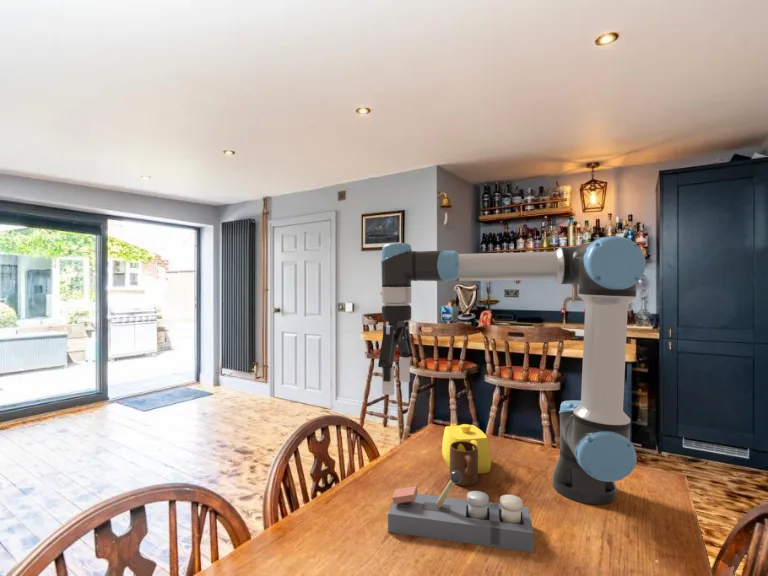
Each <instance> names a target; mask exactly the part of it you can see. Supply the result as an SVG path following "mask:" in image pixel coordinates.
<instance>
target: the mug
mask: <svg viewBox="0 0 768 576" xmlns="http://www.w3.org/2000/svg"><path fill="white" fill-rule="evenodd" d="M459 444H462V445H463V446H464V448H465V450H466V451H460V450H457V448H458V445H459ZM473 447H474V449H475V450H473ZM454 470H457V471H459V472H460V473H461V475H462V480H461V481H460V482H459V483H455V485H458V486H463V487H469V486H470V487H471V486H474V485H475V484H476V483H477V482H478V479H479V474H478V448H477V446H476V445H475V444H473V443H470V442H465V441H459V442H454V443H452V444H451V445H450V469H449V475H450V474H451V472H452V471H454Z"/></svg>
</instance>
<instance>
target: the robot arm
mask: <svg viewBox="0 0 768 576" xmlns="http://www.w3.org/2000/svg"><path fill="white" fill-rule="evenodd" d="M646 262H647V261H646V257H645V254H644V253H643V250H642V248H640V246H639V245H637V244H636V243H635V241H633V240H631V239H629V238H627V237H623V236H618V235H617V236H616V235H614V236H613V235H610V236H602V237H599V238H597V239H595V240H593V241H590V242H588V243H587V242H586V243H585V244H580V245H576V246H568V247H559V248H557V249H556V250H555V251H533V252H532V251H529V252H527V251H526V252H525V251H524V252H522V251H521V252H493V253H492V252H490V253H489V252H488V253H486V252H484V253H459V252H458V251H456V250H446V249H443V250H427V251H425V250H422V251H421V250H419V251H414V250H412V246H411V244H410V243H406V242H405V243H404V242H391V243H390V242H389V243H386V244H384V245H383V246H382V248H381V261H380V263H381V291H380V292H379V293H380V295H381V302H382V304H383V305H382V306H381V318H382V320H384V321H387V322H388V324H387V325H383V327H382V338H381V345H380V351H379V353H380V354H379V358H378V365H377V367H378V368H381V369H382V371H381V373H382V374H381V375H382V376H381V377H382V379H381V380H382V381H381V383H382V384H381V385H382V386H381V391H382V395H386V396H387V395H389V396H394V395H395V367H393V366H394V365H393V364H394V361H395V356H396V352H397V349H398V351H399V354H400V356H399V362H398V364H399V366H398V367H399V368H398V369H399V370H398V371H399V382H401V383H410V382H411V363H410V362H411V358H413V357H414V353H413V347H412V341H411V334H410V323H409V321H410V320H411V319H412V306H411V305H410V304H411V303H412V282H420V281H421V282H439V283H440V282H441V283H442V282H462V281H463V282H471V281H472V282H479V281H480V282H481V281H482V282H485V281H486V282H487V281H488V282H489V281H491V282H492V281H493V282H495V281H496V282H497V281H499V282H500V281H502V282H505V281H510V282H511V281H514V282H515V281H519V282H520V281H555V282H556V283H557V284H558V285H575V286H578V297H579V298H580V299H581V300H582V301H583V302H584V304H585V307H584V321H583V322H584V325H583V327H584V328H583V347H582V348H583V349H582V351H583V352H582V372H581V397H580V400H578V399H577V400H574V399H573V400H564V401H561V402H560V403H561V404H560V407H559V411H558V414H559V457H558V460H557V462H556V465H555V468H554V470H553V473H552V481H551V483H552V487H553V488H554V490H555V491H556V492H558V493H559V494H560V495H562V496H564V497H566V498H568V499H570V500H572V501H575V502H580V503H583V504H590V505H604V504H605V505H606V504H610V503H613V502H615V500H616V499H617V485H616V482H617V481H621V480H623V479H624V478H626V477H628V476H629V475H630V474H631V473H632V472H633V471H634V469H635V468H636V465H637V461H638V460H637V457H638V456H637V452H636V450H635V446H634V445H633V443H632V442H631V439H630V437H631V418H630V416H628V415H627V414H626V413H625V411H624V398H625V397H624V394H625V375H626V372H625V371H626V352H627V351H626V350H627V333H628V329H627V328H628V311H629V310H628V308H629V305H630V303H632V302H633V301H635V300H636V299H637V287H638V285H637V284H638V283H639V281H640V280H641V278H642V277H643V276H644V273H645V270H646V265H647V264H646Z"/></svg>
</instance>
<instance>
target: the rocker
mask: <svg viewBox="0 0 768 576" xmlns="http://www.w3.org/2000/svg"><path fill="white" fill-rule="evenodd" d="M418 492H419V491H418V487H417V485H415V486H407V487H402V488H401V487H400V488H396V489H395V490H394V492H393V494H392V503H394V504H397V503H404V502H411V501H415V500H416V496H417V494H419V493H418Z"/></svg>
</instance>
